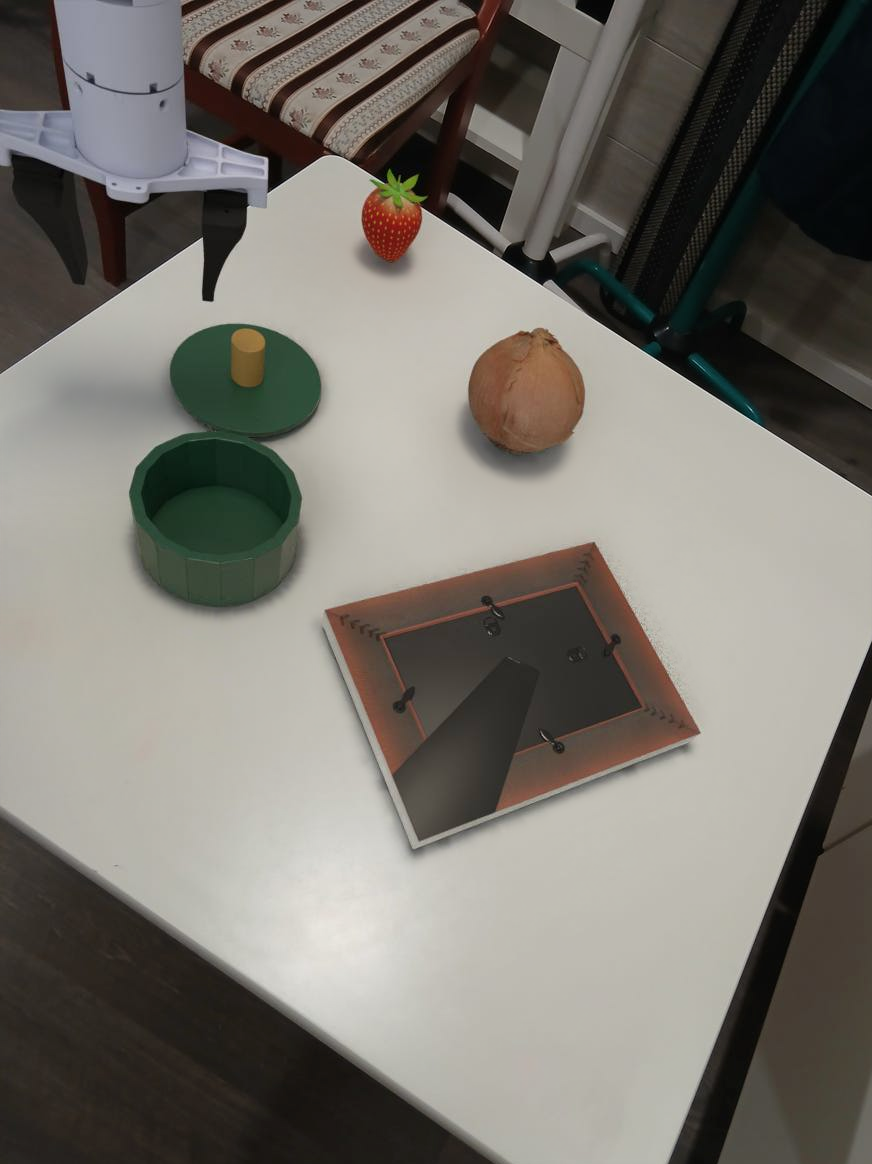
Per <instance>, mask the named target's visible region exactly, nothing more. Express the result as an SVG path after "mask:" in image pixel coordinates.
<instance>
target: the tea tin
mask: <svg viewBox="0 0 872 1164" xmlns="http://www.w3.org/2000/svg"><path fill="white" fill-rule="evenodd" d="M128 496H129V503H130V510H131V516H132V521H133V527H134V535H135V540H136V543H137V548H138V553H139V557H140V560H141V564H142V565H143V566H144V568H145V570H146V572H147V574H149V576H150V577H151V579H152V580H154V582H155V583H157V585H158V586H160V587H161V588H162V589H164V590H165V591H166V592H167V593H170V594H171V595H173V596H175V597H176V598H179V599H181V600H183V601H185V602H189V603H192V604H196V605H200V606H208V607H216V608H217V607H219V608H220V607H233V606H239V605H243V604H247V603H251V602H252V601H256V600H257V599H260V598H261V597H264V596H265V595H267V594H268V593H270V592H271V591H273V589H275V588H276V587H277V586H278V585H279V584H281V582H283V580H284V579H285V578H286V576H287V575H288V573H289V572H290V569H291V568H292V565H293V563H294V560H295V554H296V546H297V540H298V534H299V524H300V516H301V509H302V501H303V495H302V493H301V489H300V487H299V484H298V480H297V477H296V475H295V472H294V471H293V469H292V468H291V467H290V466H289V465H288V464H287V463H286V462H285V461H284V460H283V459H282V457H281V456H280V455H279V454H278V453H277V452H276V451H275V450H274V449H272V448H270V447H268V446H266V445H264V444H263V443H260V442H258V441H257V440H255V439H253V438H252V437H246V436H241V435H236V434H231V433H226V432H222V431H219V430H208V431H199V432H189V433H183V434H180V435H178V436H175V437H173V438H171V439H169V440H166V441H164V442H162V443H160V444H157V445H156V446H155V447H154V448H152V450H151V451H149V453H148V454H147V455H146V456H145V457H144V458H143V459H142V460H141V461H140V462H139V463H138V464H137V465H136V467H135V469H134V473H133V475H132V480H131V483H130V487H129V490H128Z"/></svg>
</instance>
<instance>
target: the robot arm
mask: <svg viewBox="0 0 872 1164" xmlns="http://www.w3.org/2000/svg"><path fill="white" fill-rule="evenodd" d="M53 5H54V11H55V18H56V23H57V31H58V37H59V43H60V49H61V57H62V64H63V70H64V77H65V85H66V89H67V95H68V102H69V110H9V109H0V166H1V167H10V166H12V175H13V179H12V184H11V191H12V194H13V196H14V199H15V201H16V203H17V205H18V206H19V207H20V208H21V209H22V210H23V211H25V212H26V213H27V214H28V215H29V216H30V218H32V219H33V220H34V222H35V223H36V224H37V225H38V226H39V227H40V229H41V230H42V231H43V233H44V234H45V235H46V237H47V238H48V239H49V241H50V243H51V244H52V246H53V247H54V248H55V250H56V252H57V253H58V255H59V257H60V259H61V261H62V262H63V265H64V266H65V269H66V270H67V272H68V275H69V277H70V280H71V283H72V284H73V285H79V286H85V285H86V280H87V279H86V278H87V273H88V267H89V260H88V250H87V245H86V239H85V235H84V231H83V227H82V221H81V218H80V217H81V216H80V213H79V207H78V200H77V199H78V198H77V190H76V181H75V175H78V176H81V177H83V178H86V179H89V180H90V181H93V182H96V183H99V184H100V185H104V186H105V189H106V195H107V196H108V197H109V198H111V199H113V200H116V201H122V202H127V203H128V202H129V203H134V204H144V203H147V202H148V201H149V199H150V194H158V193H174V192H194V191H195V192H196V191H200V192H203V199H202V213H201V233H202V234H201V237H202V251H203V267H202V270H203V271H202V281H201V283H202V285H201V300H202V302H209V303H213V302H214V301H215V293H216V287H217V284H218V280H219V277H220V276H221V272H222V270H223V268H224V266H225V264H226V261H227V259H228V258H229V257H230V254H231V253H232V251H233V250H234V248H235V247H236V246H237V245H238V243H239V242H240V241H241V240H242V239H243V236H244V234H245V232H246V228H247V224H248V222H247V221H248V205H249V206H250V207H253V208H259V209H267V208H268V189H269V188H268V187H269V158H268V157H266V156H262V155H256V154H252V153H249V152H246V151H242V150H240V149H236V148H234V147H231V146H229V145H226V144H224V143H222V142H219V141H216V140H214V139H211V138H209V137H206V136H204V135H202V134H199V133H196V132H194V131H191V130H189V129H187V120H186V119H187V118H186V117H187V116H186V93H185V91H186V90H185V70H184V68H185V66H184V65H185V64H184V44H183V43H184V42H183V41H184V40H183V19H182V18H183V16H182V0H53Z"/></svg>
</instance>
